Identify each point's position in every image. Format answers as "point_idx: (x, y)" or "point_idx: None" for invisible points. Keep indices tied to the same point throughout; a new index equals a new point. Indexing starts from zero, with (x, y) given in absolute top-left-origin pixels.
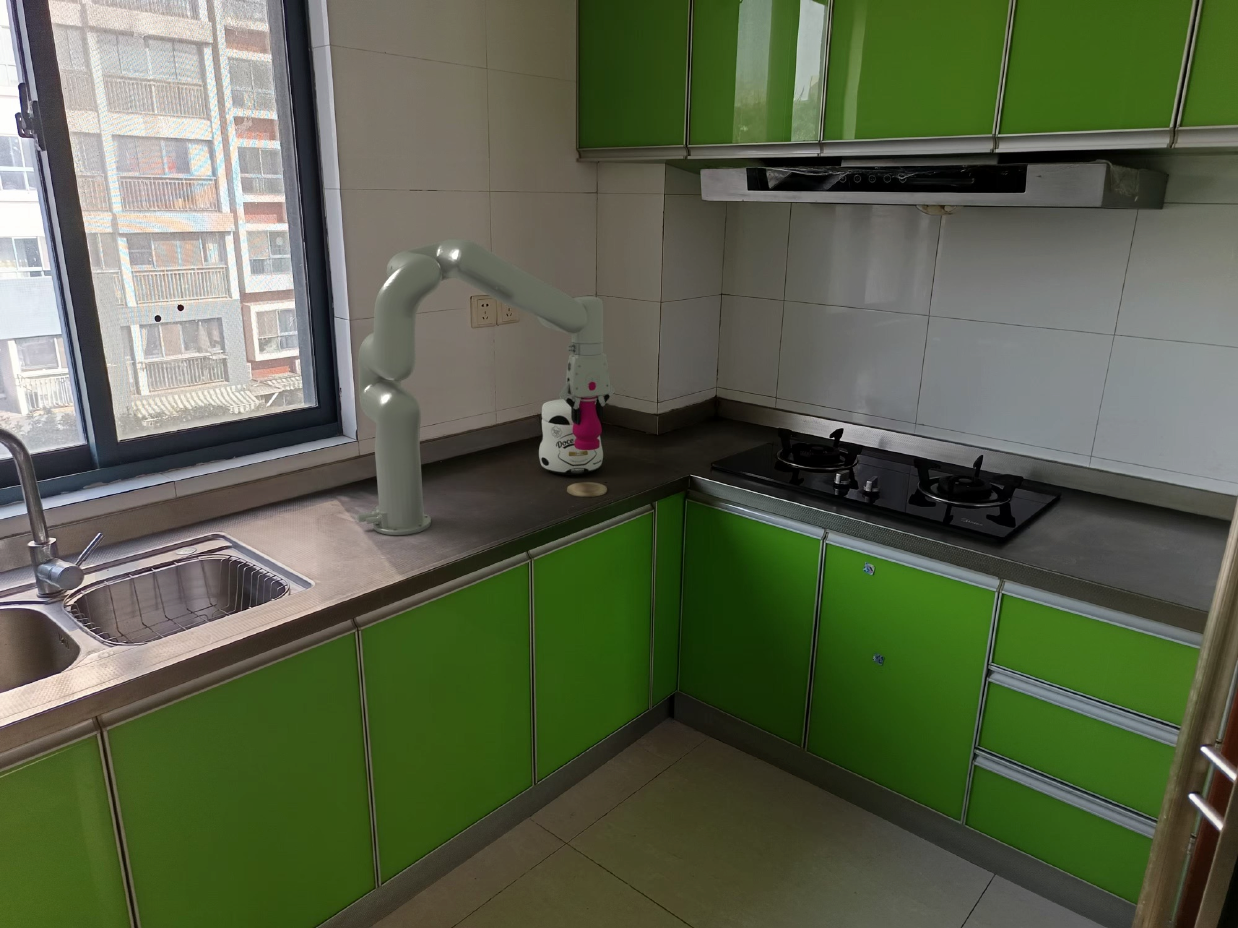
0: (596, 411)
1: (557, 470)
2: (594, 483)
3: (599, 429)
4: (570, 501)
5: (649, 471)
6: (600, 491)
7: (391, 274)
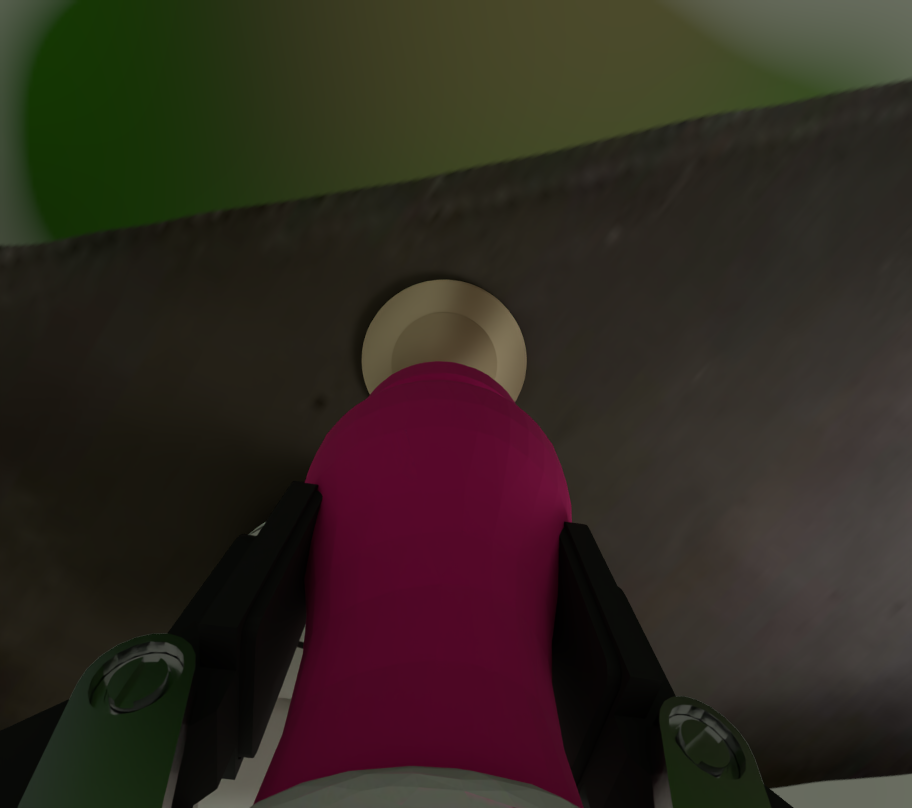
0: (285, 629)
1: None
2: None
3: (377, 405)
4: (579, 294)
5: (80, 412)
6: (421, 299)
7: None
